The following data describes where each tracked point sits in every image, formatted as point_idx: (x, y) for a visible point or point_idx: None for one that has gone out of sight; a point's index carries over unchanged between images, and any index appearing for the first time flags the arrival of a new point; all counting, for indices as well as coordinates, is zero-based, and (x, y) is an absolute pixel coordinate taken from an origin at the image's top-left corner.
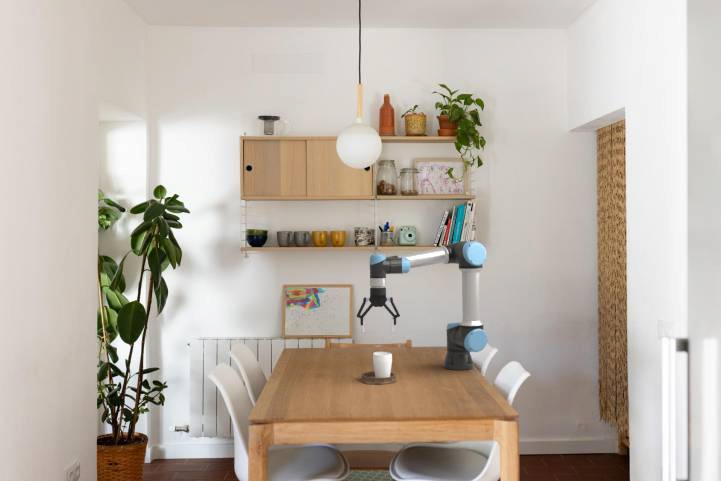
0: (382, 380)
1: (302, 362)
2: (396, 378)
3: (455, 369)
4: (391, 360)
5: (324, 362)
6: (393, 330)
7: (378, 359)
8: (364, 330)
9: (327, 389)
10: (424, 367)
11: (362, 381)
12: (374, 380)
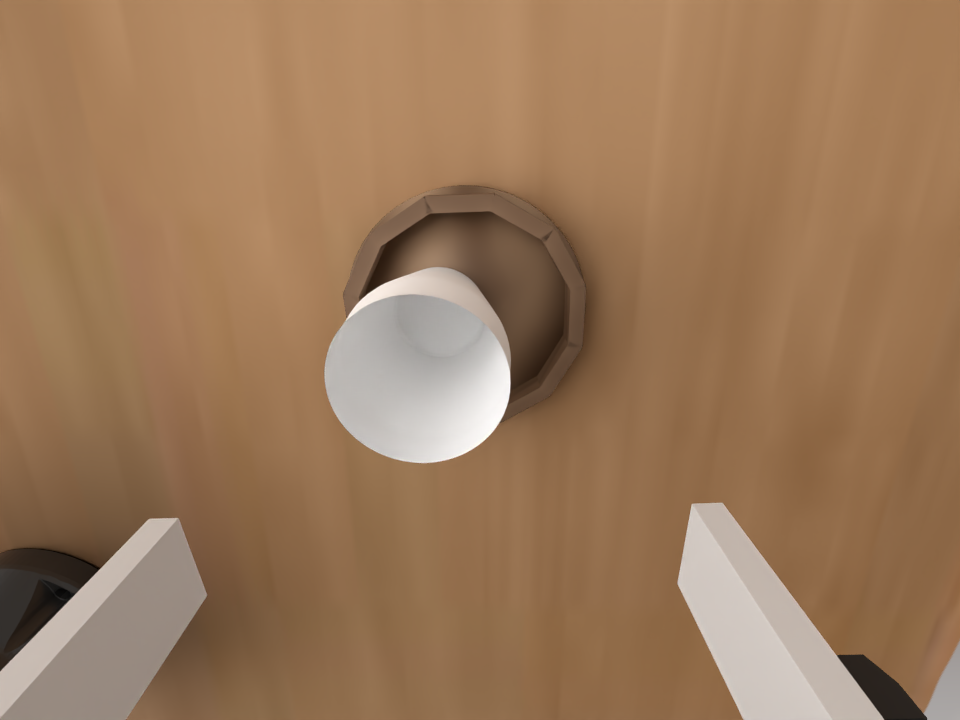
0: (436, 195)
1: None
2: None
3: (53, 553)
4: (343, 330)
5: (730, 700)
6: (128, 546)
7: (458, 289)
8: (718, 537)
9: (852, 18)
10: (234, 607)
11: (574, 255)
12: (494, 193)
